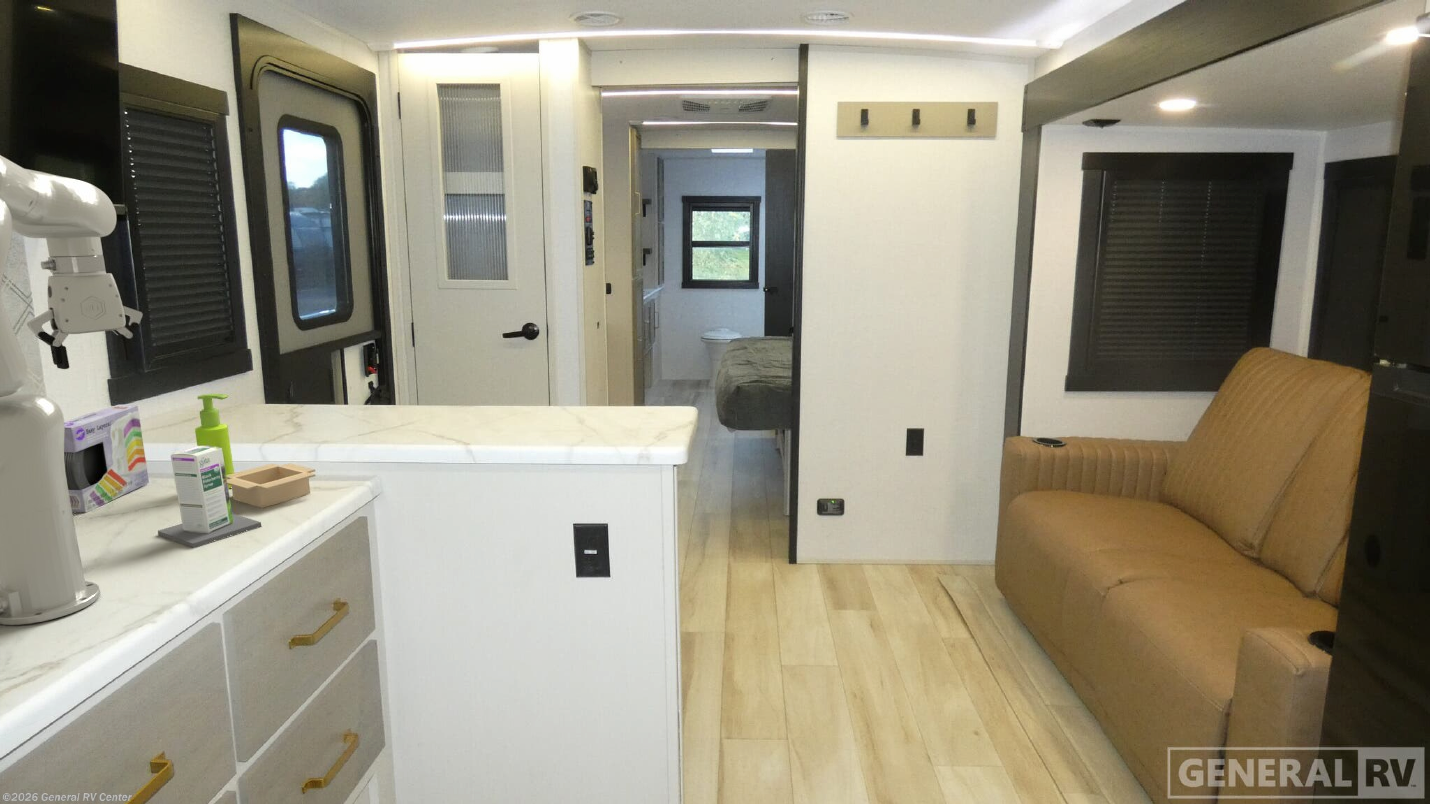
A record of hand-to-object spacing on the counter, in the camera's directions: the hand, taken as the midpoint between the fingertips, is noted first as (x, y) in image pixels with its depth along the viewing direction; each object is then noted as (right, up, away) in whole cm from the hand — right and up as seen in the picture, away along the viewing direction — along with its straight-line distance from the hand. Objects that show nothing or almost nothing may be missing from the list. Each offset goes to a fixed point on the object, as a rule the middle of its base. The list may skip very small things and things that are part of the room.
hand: (95, 364), depth 151 cm
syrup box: (+18, -30, +3) cm, 35 cm away
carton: (+20, -26, +22) cm, 39 cm away
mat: (+18, -30, +3) cm, 35 cm away
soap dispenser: (+6, -25, +28) cm, 38 cm away
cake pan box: (-13, -27, +22) cm, 37 cm away
